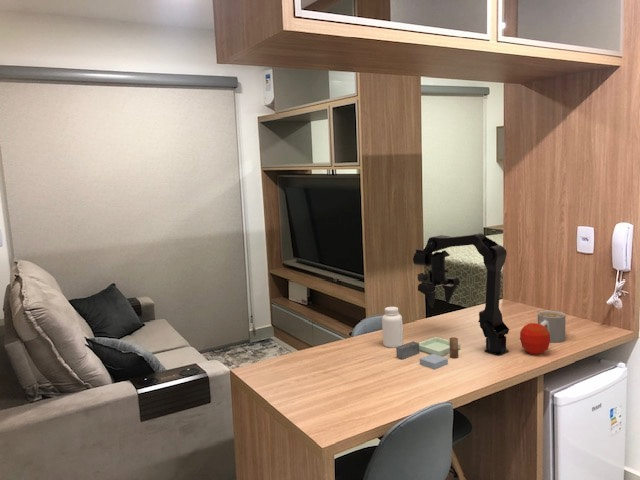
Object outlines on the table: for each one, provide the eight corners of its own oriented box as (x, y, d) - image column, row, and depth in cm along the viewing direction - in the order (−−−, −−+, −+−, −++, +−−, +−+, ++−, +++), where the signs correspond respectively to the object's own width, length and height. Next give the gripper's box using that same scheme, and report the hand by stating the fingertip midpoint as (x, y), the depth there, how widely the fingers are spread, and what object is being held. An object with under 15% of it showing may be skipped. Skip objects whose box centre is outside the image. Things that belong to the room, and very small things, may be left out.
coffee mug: (548, 333, 214) (548, 309, 213) (570, 339, 206) (571, 314, 204) (526, 339, 208) (526, 315, 207) (547, 346, 199) (548, 320, 198)
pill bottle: (380, 346, 209) (378, 310, 207) (387, 340, 216) (385, 304, 214) (399, 349, 206) (397, 311, 204) (405, 342, 213) (404, 306, 211)
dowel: (460, 357, 194) (459, 338, 193) (454, 359, 192) (454, 340, 191) (453, 355, 196) (453, 336, 195) (448, 357, 195) (447, 338, 194)
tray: (460, 349, 202) (460, 343, 201) (439, 357, 195) (439, 351, 194) (436, 342, 211) (435, 336, 211) (415, 349, 204) (415, 344, 204)
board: (448, 365, 188) (447, 358, 187) (434, 370, 184) (434, 363, 183) (432, 360, 193) (432, 353, 193) (419, 365, 189) (419, 358, 189)
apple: (554, 351, 194) (554, 321, 193) (542, 359, 187) (542, 327, 186) (527, 345, 201) (527, 316, 200) (515, 353, 195) (514, 322, 193)
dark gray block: (419, 353, 200) (419, 343, 199) (402, 359, 195) (402, 349, 194) (413, 351, 202) (413, 341, 202) (396, 357, 197) (396, 347, 196)
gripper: (438, 261, 224) (440, 298, 226) (406, 268, 213) (408, 306, 215) (459, 264, 215) (460, 302, 217) (427, 271, 204) (429, 311, 206)
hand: (439, 305), depth 214 cm, fingers open, 9 cm apart
